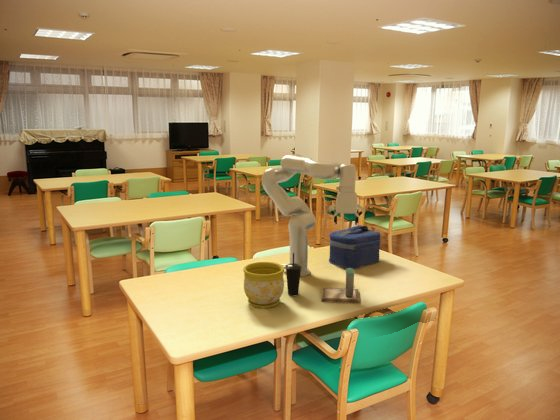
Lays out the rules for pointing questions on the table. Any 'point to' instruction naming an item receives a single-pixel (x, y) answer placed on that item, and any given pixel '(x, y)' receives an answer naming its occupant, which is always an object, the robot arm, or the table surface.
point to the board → (339, 295)
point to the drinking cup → (293, 277)
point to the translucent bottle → (349, 282)
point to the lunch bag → (354, 247)
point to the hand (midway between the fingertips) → (345, 224)
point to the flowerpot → (263, 284)
